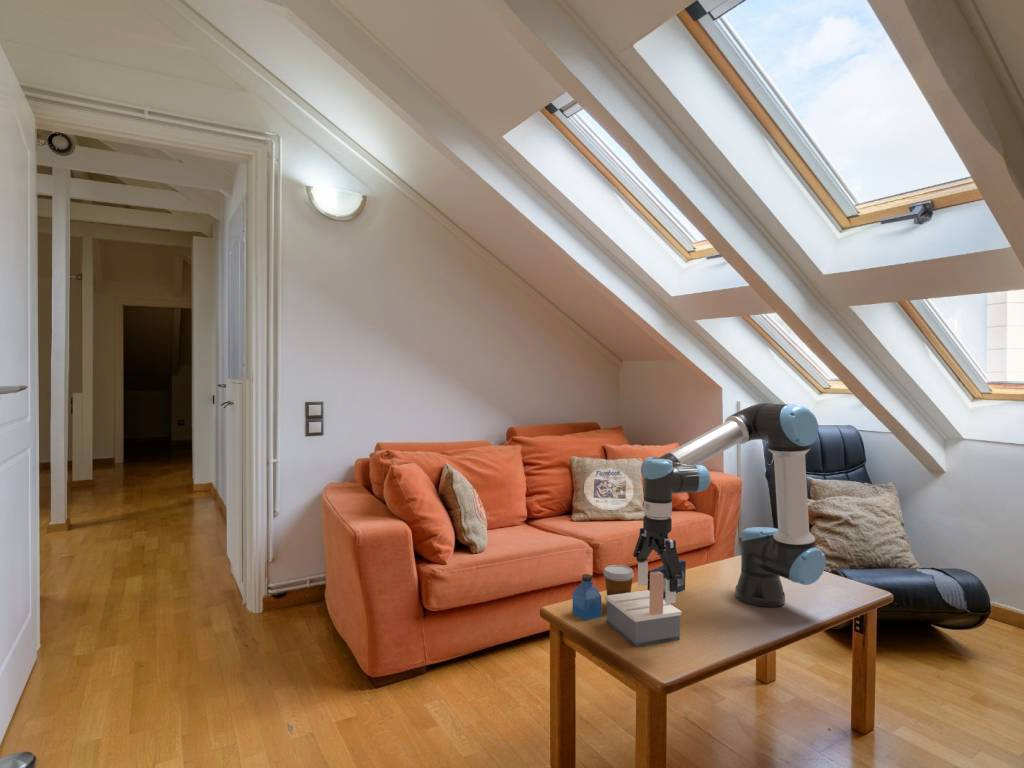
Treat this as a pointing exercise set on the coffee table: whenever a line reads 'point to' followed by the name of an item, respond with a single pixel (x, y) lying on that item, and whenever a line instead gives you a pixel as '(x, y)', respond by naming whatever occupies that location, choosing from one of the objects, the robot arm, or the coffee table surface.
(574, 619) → the coffee table surface
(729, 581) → the coffee table surface
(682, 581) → the vhs cassette tape
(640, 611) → the lid
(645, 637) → the tub
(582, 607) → the perfume bottle
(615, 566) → the disposable coffee cup
